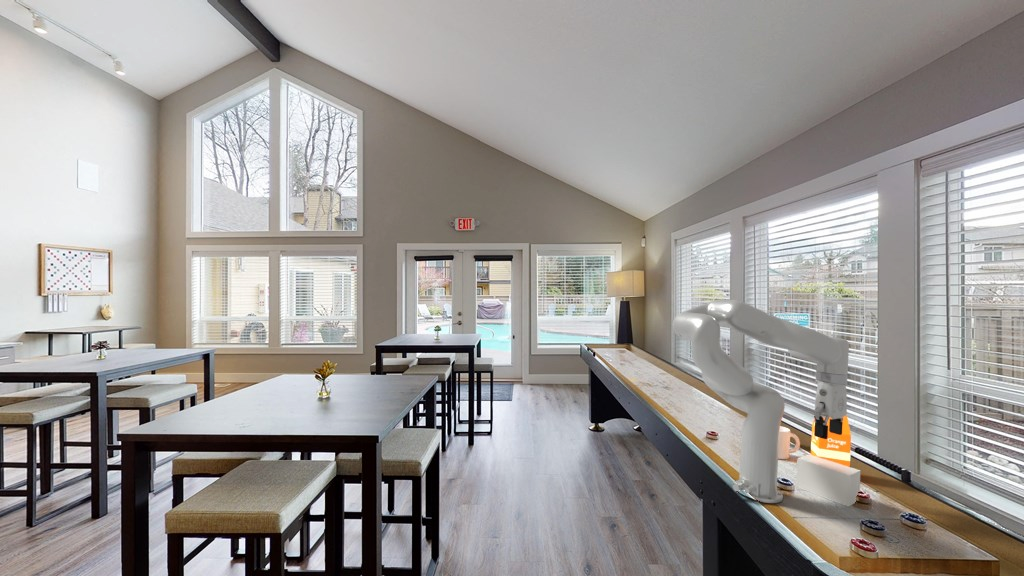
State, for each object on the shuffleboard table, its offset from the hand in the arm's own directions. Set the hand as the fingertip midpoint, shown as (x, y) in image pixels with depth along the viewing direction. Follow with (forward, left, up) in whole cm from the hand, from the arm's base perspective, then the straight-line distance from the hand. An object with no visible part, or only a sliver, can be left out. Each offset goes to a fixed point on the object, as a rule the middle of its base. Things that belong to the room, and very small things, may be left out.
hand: (828, 435), depth 125 cm
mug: (+20, +22, -18) cm, 34 cm away
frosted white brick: (0, 0, -17) cm, 17 cm away
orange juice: (+20, +7, -18) cm, 28 cm away
